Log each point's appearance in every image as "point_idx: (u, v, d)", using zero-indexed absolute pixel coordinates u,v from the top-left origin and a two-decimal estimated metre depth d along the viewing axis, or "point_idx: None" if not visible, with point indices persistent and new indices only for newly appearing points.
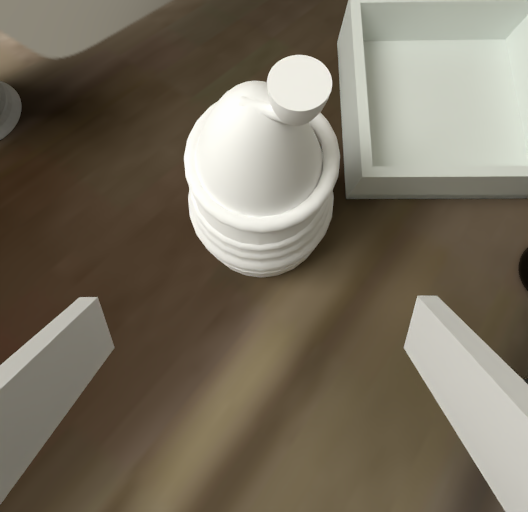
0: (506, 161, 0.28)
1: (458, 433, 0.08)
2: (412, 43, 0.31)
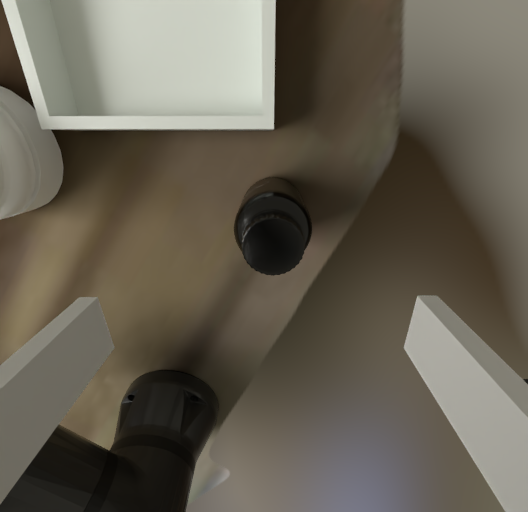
0: (237, 85, 0.25)
1: (458, 433, 0.08)
2: None
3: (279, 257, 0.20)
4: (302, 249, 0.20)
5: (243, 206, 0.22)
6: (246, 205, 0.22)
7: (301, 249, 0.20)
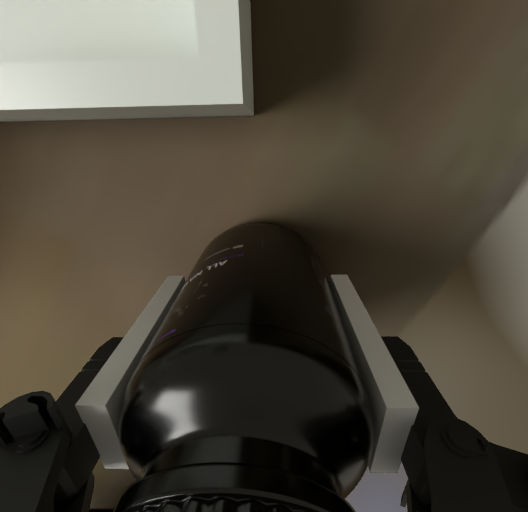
0: None
1: None
2: None
3: None
4: None
5: (135, 380, 0.06)
6: (140, 384, 0.06)
7: None
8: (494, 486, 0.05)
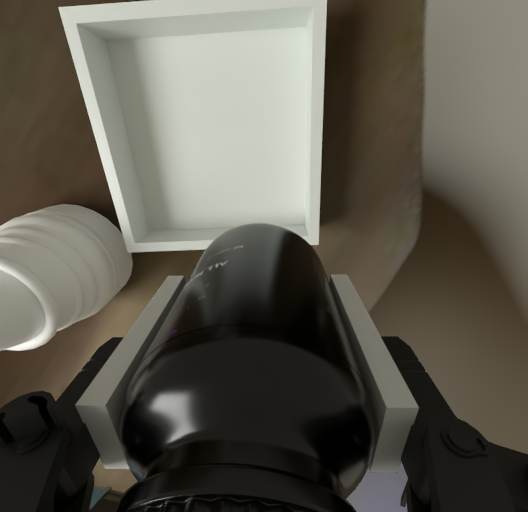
0: (283, 201, 0.30)
1: None
2: (186, 41, 0.24)
3: None
4: None
5: (136, 380, 0.06)
6: (141, 384, 0.06)
7: None
8: (494, 486, 0.05)
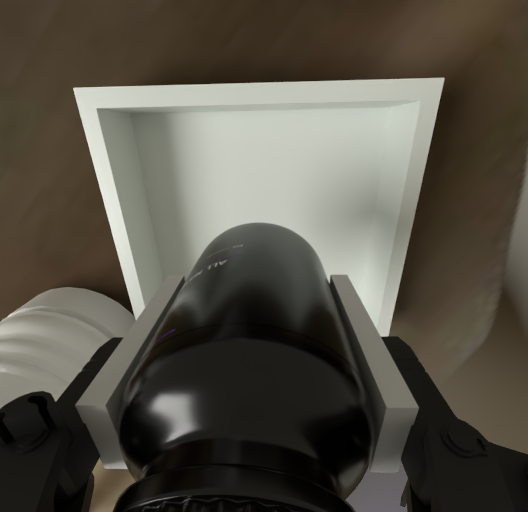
0: None
1: None
2: (234, 118, 0.19)
3: None
4: None
5: (134, 380, 0.06)
6: (139, 384, 0.06)
7: None
8: (494, 486, 0.05)
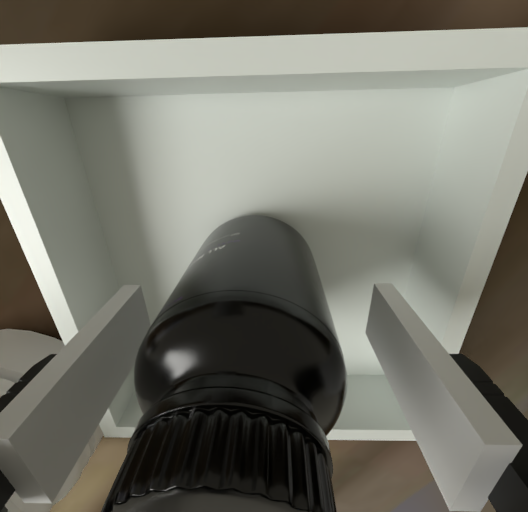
0: (358, 346, 0.18)
1: (400, 404, 0.09)
2: (219, 104, 0.12)
3: None
4: None
5: (149, 336, 0.08)
6: (153, 338, 0.07)
7: None
8: None
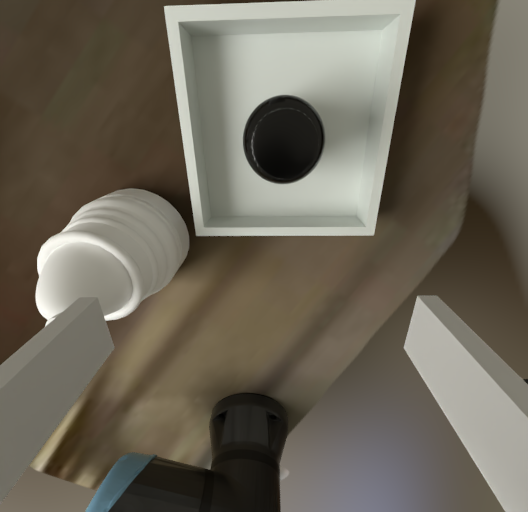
0: (339, 193, 0.32)
1: (458, 433, 0.08)
2: (267, 39, 0.25)
3: (291, 158, 0.19)
4: (316, 147, 0.18)
5: (252, 112, 0.21)
6: (255, 110, 0.20)
7: (315, 147, 0.18)
8: None
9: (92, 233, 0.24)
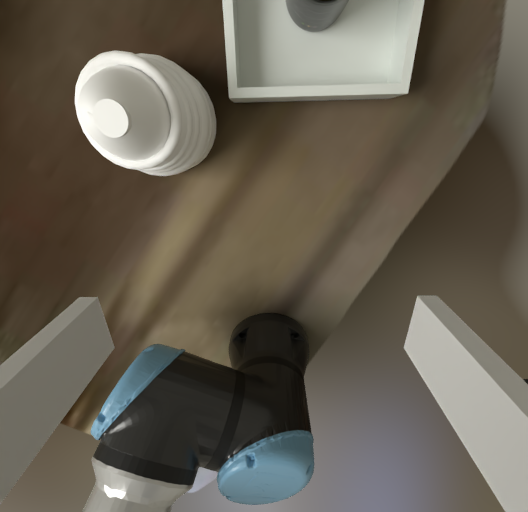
0: (370, 62, 0.32)
1: (458, 433, 0.08)
2: None
3: None
4: None
5: None
6: None
7: None
8: None
9: (133, 53, 0.23)
